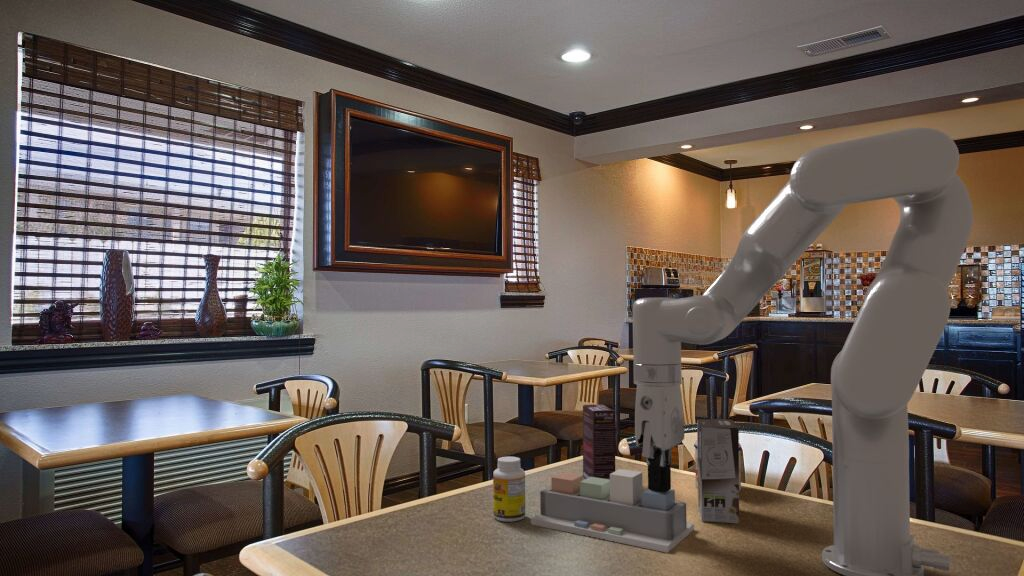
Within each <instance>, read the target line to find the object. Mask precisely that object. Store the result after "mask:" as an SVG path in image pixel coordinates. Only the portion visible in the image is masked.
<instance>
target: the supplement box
mask: <svg viewBox="0 0 1024 576" xmlns="http://www.w3.org/2000/svg"><path fill="white" fill-rule="evenodd" d="M615 471H616V410H614V409H612V408H610V407H609V406H606V405H604V404H583V405H582V475H583V480H585V479H587V478H589V477H596V478H603V479H609V480H610V474H611V473H613V472H615Z"/></svg>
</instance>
